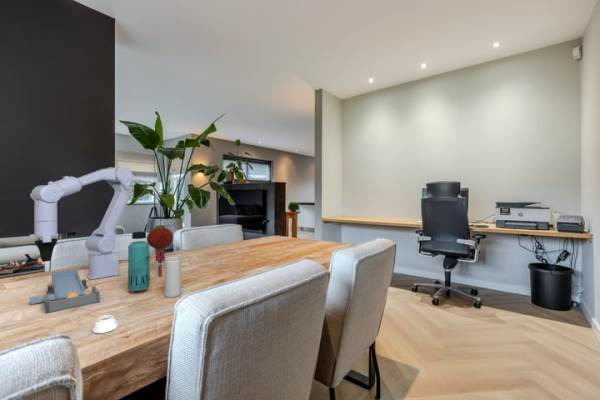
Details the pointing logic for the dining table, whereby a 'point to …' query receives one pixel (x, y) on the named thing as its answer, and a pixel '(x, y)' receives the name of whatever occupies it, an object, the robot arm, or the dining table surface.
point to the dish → (71, 301)
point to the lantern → (160, 242)
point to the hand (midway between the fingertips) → (46, 261)
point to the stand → (53, 290)
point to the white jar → (105, 324)
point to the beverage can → (172, 277)
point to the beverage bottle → (138, 263)
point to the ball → (72, 295)
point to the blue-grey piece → (63, 285)
